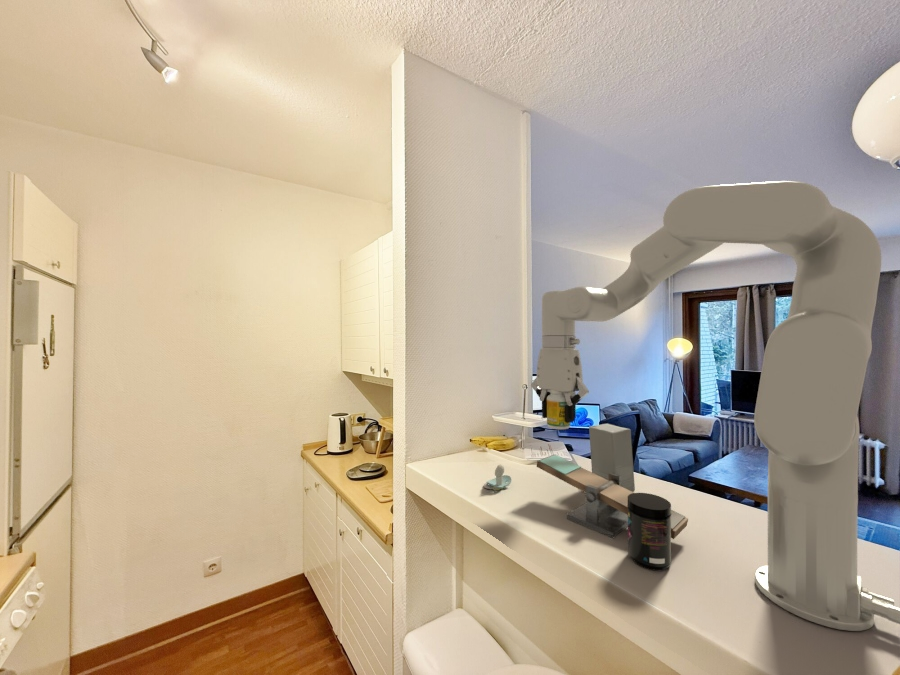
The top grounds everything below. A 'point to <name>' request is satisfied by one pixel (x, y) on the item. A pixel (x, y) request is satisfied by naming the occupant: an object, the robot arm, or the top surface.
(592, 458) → the skincare box
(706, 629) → the top surface
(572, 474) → the beam
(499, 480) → the pacifier
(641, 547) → the supplement container
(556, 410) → the supplement bottle
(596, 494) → the beam stand
